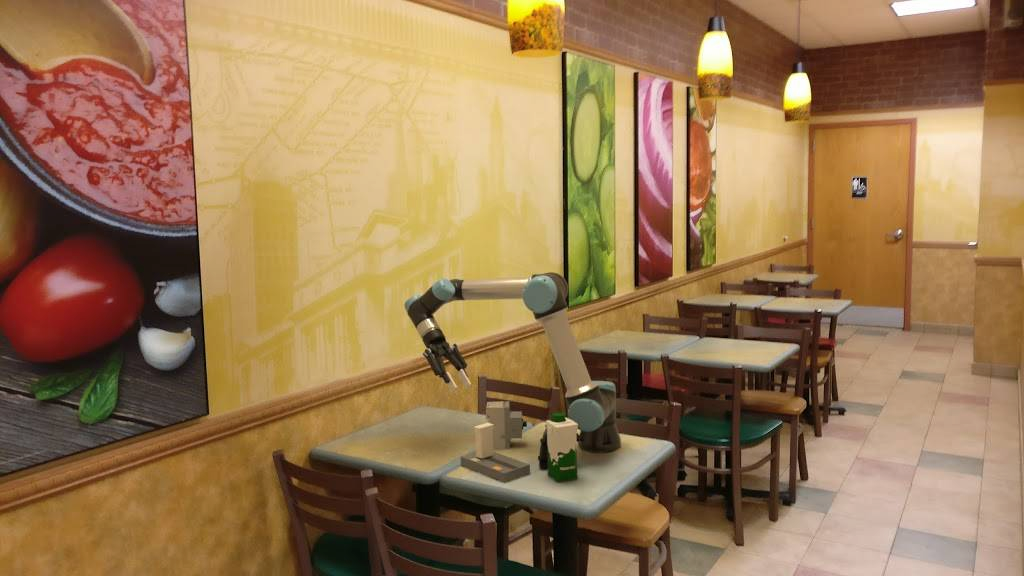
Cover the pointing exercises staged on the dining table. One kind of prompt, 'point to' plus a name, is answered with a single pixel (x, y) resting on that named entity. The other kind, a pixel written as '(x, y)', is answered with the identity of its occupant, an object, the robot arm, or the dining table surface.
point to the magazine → (545, 451)
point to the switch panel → (496, 466)
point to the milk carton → (562, 448)
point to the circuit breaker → (504, 423)
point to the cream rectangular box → (484, 440)
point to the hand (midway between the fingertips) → (461, 388)
